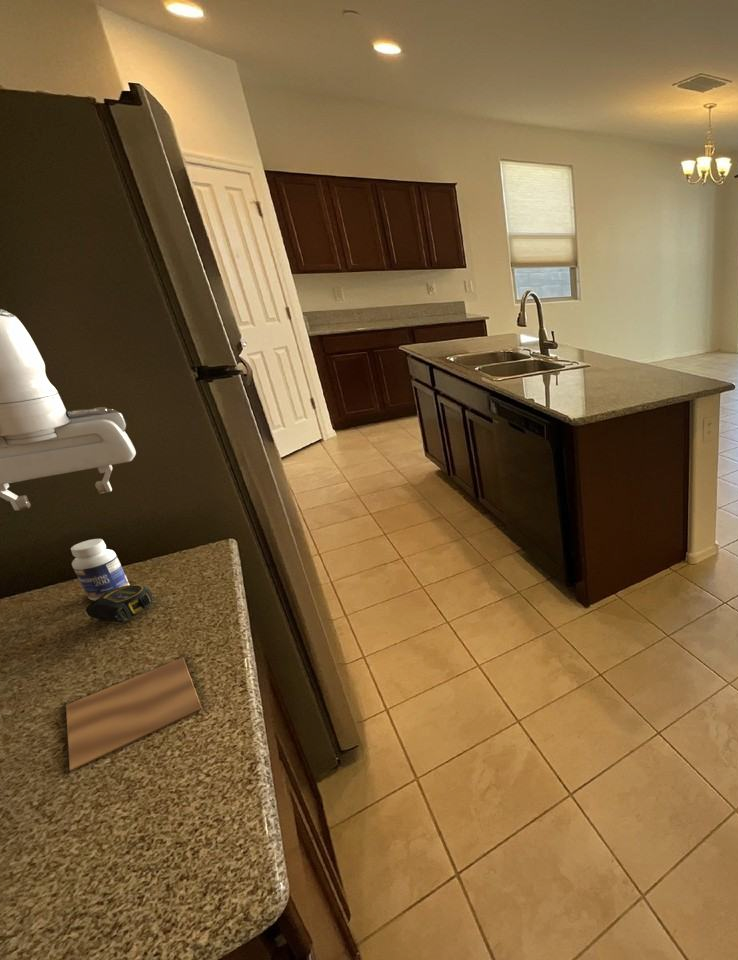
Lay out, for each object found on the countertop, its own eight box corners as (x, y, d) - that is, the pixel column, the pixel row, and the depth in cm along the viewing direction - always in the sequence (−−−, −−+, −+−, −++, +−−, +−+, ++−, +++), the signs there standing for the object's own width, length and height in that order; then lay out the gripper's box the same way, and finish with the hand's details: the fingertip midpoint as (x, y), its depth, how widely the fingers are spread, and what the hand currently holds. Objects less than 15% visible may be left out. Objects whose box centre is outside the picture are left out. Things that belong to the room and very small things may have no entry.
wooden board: (66, 706, 68) (65, 704, 68) (183, 658, 76) (183, 657, 76) (70, 771, 59) (69, 769, 59) (202, 709, 67) (201, 708, 67)
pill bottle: (80, 603, 89) (55, 554, 85) (102, 586, 94) (79, 538, 90) (118, 599, 90) (94, 550, 86) (137, 582, 95) (116, 535, 91)
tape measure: (89, 623, 84) (79, 604, 82) (136, 598, 90) (127, 580, 88) (121, 629, 82) (111, 609, 81) (166, 603, 88) (158, 585, 87)
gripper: (119, 401, 87) (151, 477, 92) (-72, 425, 75) (-23, 511, 80) (116, 408, 82) (150, 488, 88) (-89, 435, 70) (-35, 526, 76)
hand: (66, 499), depth 84 cm, fingers open, 8 cm apart
